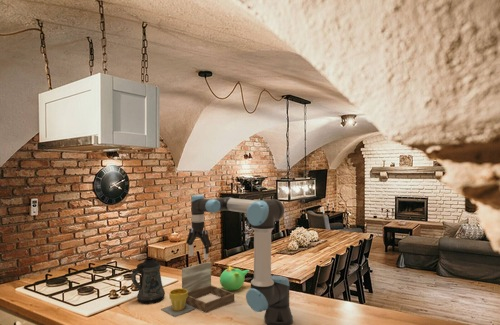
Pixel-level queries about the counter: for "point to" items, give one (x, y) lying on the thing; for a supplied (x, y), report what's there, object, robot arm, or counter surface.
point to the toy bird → (232, 278)
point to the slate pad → (177, 313)
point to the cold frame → (203, 288)
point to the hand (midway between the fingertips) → (198, 257)
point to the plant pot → (178, 298)
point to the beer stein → (149, 282)
